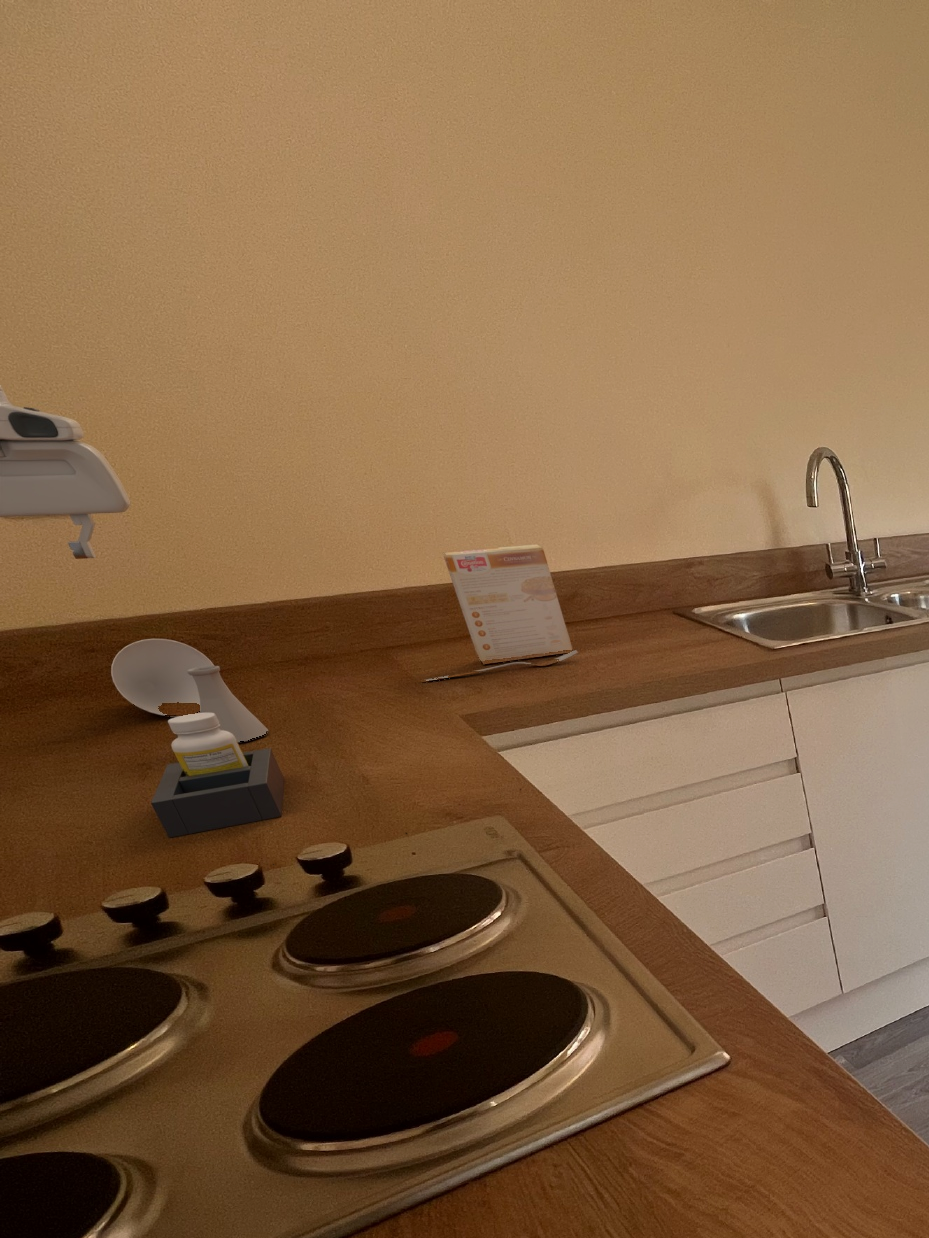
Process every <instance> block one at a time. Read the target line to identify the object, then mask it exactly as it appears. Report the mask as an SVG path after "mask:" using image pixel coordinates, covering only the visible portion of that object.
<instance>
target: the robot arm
mask: <svg viewBox="0 0 929 1238" xmlns="http://www.w3.org/2000/svg"><path fill="white" fill-rule="evenodd" d="M84 434H85V433H84V430H83V428H82V426H81V424H80V423H79V422H78V421H77V420H75V419H73V418H70V417H67V416H62V415H58V414H53V413H49V412H44V411H41V410H40V409H37V408H34V407H29V406H28V407H27V406H23V407H20V406H17V405H13V404H12V402H10V401H9V399H8V397H7V394H6V392H5V391H4V389H3V386H2V385H1V384H0V518H4V517H5V518H7V517H34V516H37V517H39V516H64V515H69V517H70V519H71V521H72V523H73V525H74V526H81V527H80V528H81V529H80V532H79V536H78V539H77V540H71V541H67V545H68V547H69V549H70V550H71V551H72V555H73V557H74V558H75V559H76V560H80V559H81V560H83V559H84V560H85V559H96V558H97V555H96V553H95V551H94V549H93V546H92V544H91V539H92V536H93V533H94V529H95V526H96V522H95V519H94V518H93V514H96V515H97V514H119V513H121V514H122V513H125V512H127V510H128V509H129V508H130V506H131V500H130V497H129V495H128V493H127V491H126V489H125V487H124V484H123V483H122V481H121V479H120V477H118V475H117V473H116V472H115V470H114V469H113V467H112V466H111V464H110V463H109V461H108V459H107V458H106V457H105V455H103V453H102V452H101V451H100V450H98V449H97V448H96V447H94V446H93V445H91V444H89V443H88V442H87V443H86V442H83V441H79V440H82V439H83V438H84V436H85V435H84Z"/></svg>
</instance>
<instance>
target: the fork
mask: <svg viewBox="0 0 929 1238" xmlns="http://www.w3.org/2000/svg"><path fill="white" fill-rule="evenodd" d="M578 654H579V651H578V650H576V649H575V650H574V649H573V651H572V652H570V653H568V654H563V655H560V656H558V657H555V659H559V661H560V662H563V661H565V660H567V659H569V658H571V657H574V656H575V655H578ZM557 661H558V660H557ZM531 663H532V662H524V661H513V662H507V663H505V664H500V665H495V666H491V667H487V668H482V669H477V670H475V671H483V672H487V671H486V670H488V671H490V670H489V669H492V670H495V669H494V668H496V669H499V668H503V667H508V666H512V665H527V664H531ZM448 676H449V675H444V677H443V676H438V678H448ZM433 678H434V679H432V678H427V679H425V680H426V681H429V680H437V679H438V678H437V677H433ZM436 678H437V679H436Z"/></svg>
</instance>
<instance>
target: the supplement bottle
mask: <svg viewBox="0 0 929 1238" xmlns="http://www.w3.org/2000/svg"><path fill="white" fill-rule="evenodd" d="M167 723H168V726H169V728H170V730H171V732H172V733H173V734H174V735H177V737H176V738H175V739H173V740H172V741H171V746H170V747H171V749H172V752H173V754H174V756H175V757H176V759H177V761H178V763H180V765H181V767H182V769H183V771H184V773H185V775H186V777H187V776H193V775H199V774H205V773H211V772H217V771H223V770H229V769H235V768H241V767H247V766H249V765H248V763H247V761H246V759H245V757H244V755H243V753H242V752H243V751H242V749H241V747H240V744H239V742H237V740H236V739H235V737H234V735H233V734H232V733H230V732H228V731H223V730H220V729H219V726H220V724H219V721H218V719H217V717H216V715H215V714H214V713H200V712H198V713H195V714H188V715H183V716H174V717H171V718H170V719H168V720H167Z"/></svg>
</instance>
